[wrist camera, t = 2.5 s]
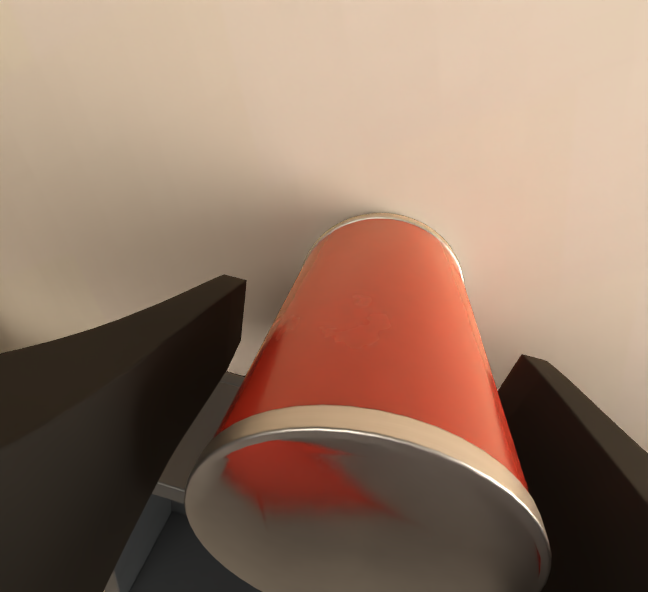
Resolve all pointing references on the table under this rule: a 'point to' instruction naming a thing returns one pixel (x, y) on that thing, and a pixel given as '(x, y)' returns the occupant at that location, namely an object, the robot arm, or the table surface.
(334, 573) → the tin can
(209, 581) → the drawer
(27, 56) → the table surface
